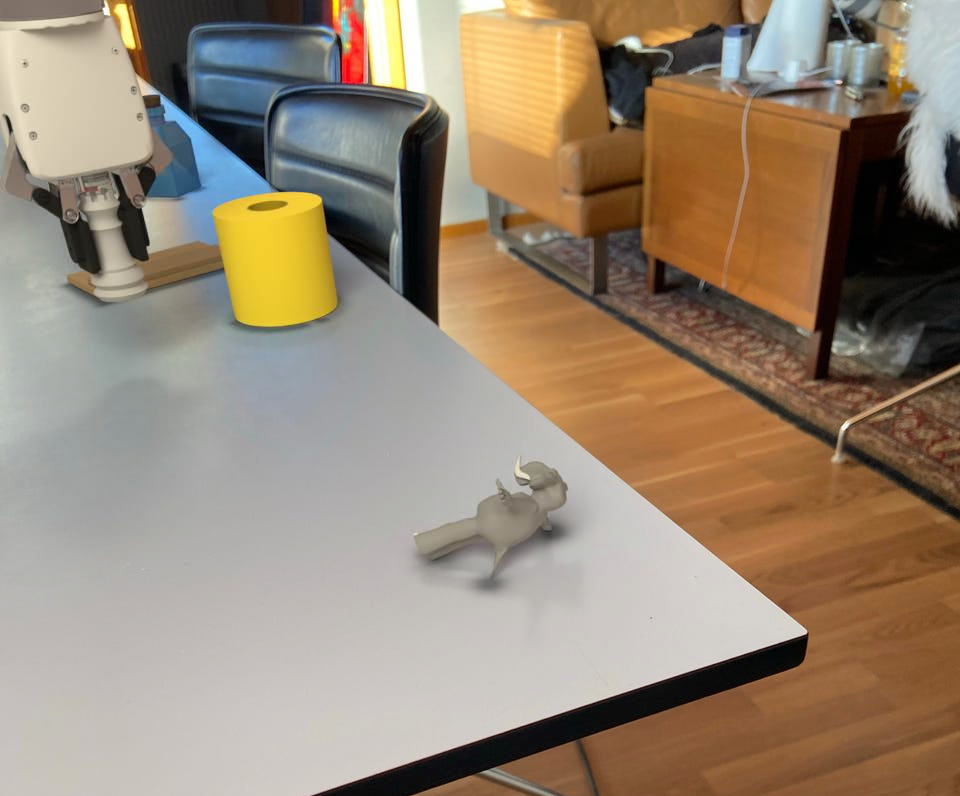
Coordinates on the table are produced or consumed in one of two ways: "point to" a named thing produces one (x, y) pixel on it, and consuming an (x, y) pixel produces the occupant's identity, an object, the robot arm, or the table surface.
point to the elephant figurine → (502, 515)
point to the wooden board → (166, 265)
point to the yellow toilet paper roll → (276, 258)
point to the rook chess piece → (111, 249)
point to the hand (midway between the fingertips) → (113, 261)
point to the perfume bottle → (183, 166)
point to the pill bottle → (94, 182)
